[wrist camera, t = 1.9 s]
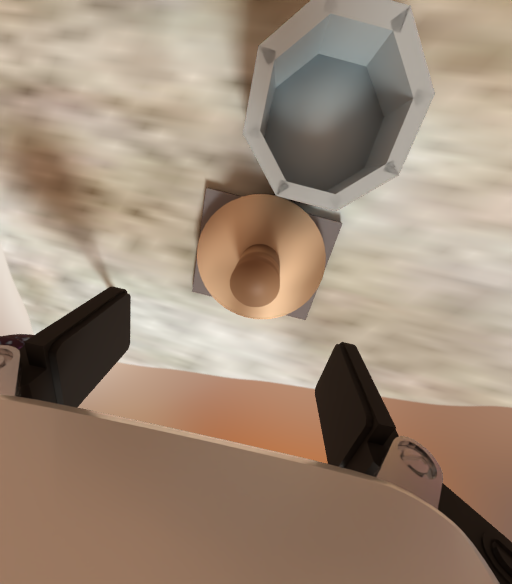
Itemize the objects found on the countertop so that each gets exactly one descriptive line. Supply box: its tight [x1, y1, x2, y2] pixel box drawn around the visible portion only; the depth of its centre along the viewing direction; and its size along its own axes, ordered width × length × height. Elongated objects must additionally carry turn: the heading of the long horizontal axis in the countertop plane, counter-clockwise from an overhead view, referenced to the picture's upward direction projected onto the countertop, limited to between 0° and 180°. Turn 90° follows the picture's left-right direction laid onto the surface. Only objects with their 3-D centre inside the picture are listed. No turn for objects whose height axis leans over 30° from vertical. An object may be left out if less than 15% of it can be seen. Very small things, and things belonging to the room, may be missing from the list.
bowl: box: [243, 0, 435, 211], centre depth 16 cm, size 10×10×5 cm
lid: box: [197, 194, 326, 319], centre depth 20 cm, size 12×12×6 cm
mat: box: [192, 188, 342, 320], centre depth 23 cm, size 12×10×1 cm
